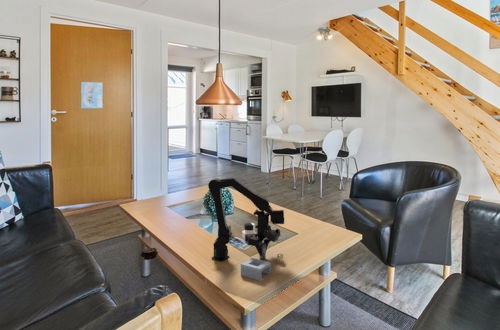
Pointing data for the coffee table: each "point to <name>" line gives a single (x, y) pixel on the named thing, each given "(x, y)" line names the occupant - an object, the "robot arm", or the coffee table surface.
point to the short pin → (279, 258)
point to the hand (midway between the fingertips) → (262, 254)
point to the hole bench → (255, 268)
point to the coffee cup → (149, 253)
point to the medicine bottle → (248, 231)
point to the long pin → (263, 253)
